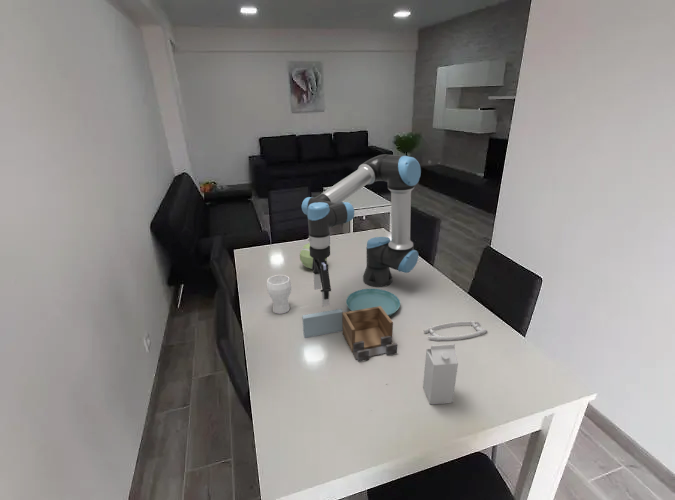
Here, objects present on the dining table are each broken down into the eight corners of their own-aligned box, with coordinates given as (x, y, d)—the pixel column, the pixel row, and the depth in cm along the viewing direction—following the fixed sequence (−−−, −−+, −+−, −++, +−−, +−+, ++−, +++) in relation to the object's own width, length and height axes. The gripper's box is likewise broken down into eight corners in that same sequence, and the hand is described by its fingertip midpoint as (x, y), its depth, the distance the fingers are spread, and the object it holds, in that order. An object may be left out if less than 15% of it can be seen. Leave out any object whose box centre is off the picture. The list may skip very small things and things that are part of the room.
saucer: (338, 317, 152) (338, 310, 151) (355, 291, 173) (355, 285, 172) (393, 327, 144) (394, 320, 143) (404, 299, 165) (404, 292, 164)
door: (341, 327, 145) (341, 308, 141) (343, 330, 142) (343, 311, 139) (303, 334, 141) (302, 315, 137) (304, 338, 138) (303, 318, 135)
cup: (288, 316, 153) (285, 286, 147) (265, 314, 155) (262, 284, 149) (296, 304, 162) (293, 275, 157) (274, 302, 164) (271, 273, 159)
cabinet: (379, 327, 144) (380, 306, 140) (398, 353, 129) (399, 330, 125) (342, 334, 140) (342, 312, 136) (356, 362, 125) (356, 338, 121)
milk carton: (422, 387, 113) (427, 338, 106) (444, 386, 113) (450, 336, 106) (429, 404, 106) (435, 353, 99) (452, 403, 107) (459, 352, 100)
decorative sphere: (332, 265, 201) (331, 241, 196) (317, 275, 190) (316, 249, 184) (311, 260, 209) (310, 236, 203) (295, 269, 197) (293, 244, 192)
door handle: (420, 330, 142) (476, 322, 146) (430, 345, 133) (490, 336, 137) (420, 325, 141) (477, 317, 145) (431, 339, 132) (491, 331, 136)
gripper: (303, 235, 138) (305, 283, 146) (317, 259, 115) (319, 315, 123) (321, 233, 140) (323, 281, 147) (339, 257, 117) (340, 311, 125)
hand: (321, 296), depth 135 cm, fingers open, 13 cm apart
